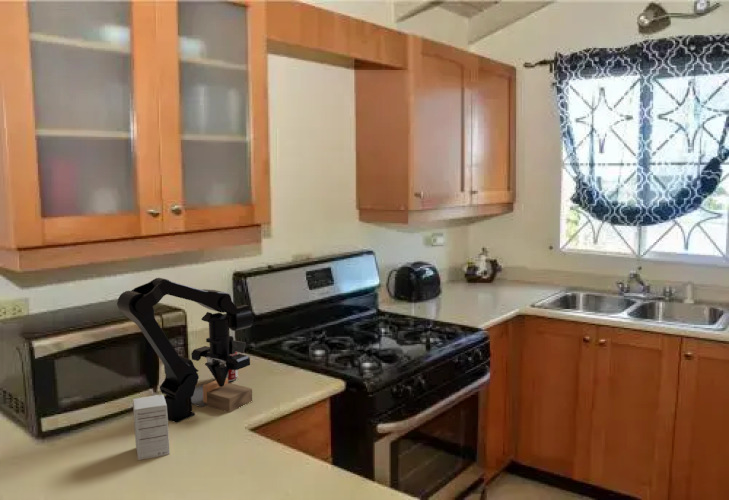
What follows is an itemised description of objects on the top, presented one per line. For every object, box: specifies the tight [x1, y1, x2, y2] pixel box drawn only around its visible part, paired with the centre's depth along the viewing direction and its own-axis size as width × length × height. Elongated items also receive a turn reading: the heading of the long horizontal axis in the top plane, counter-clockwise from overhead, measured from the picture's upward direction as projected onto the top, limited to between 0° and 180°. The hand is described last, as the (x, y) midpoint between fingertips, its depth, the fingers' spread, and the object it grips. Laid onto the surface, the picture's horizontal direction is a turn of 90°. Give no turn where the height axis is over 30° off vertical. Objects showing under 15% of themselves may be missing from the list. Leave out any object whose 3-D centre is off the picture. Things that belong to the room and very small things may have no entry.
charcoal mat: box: [191, 384, 207, 408], centre depth 178 cm, size 12×13×1 cm
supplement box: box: [132, 394, 171, 461], centre depth 143 cm, size 7×7×13 cm
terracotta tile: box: [202, 378, 229, 403], centre depth 175 cm, size 8×5×2 cm
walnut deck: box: [206, 382, 253, 413], centre depth 172 cm, size 9×9×4 cm
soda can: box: [226, 351, 239, 383], centre depth 191 cm, size 7×7×12 cm
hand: (221, 386), depth 173 cm, fingers closed
